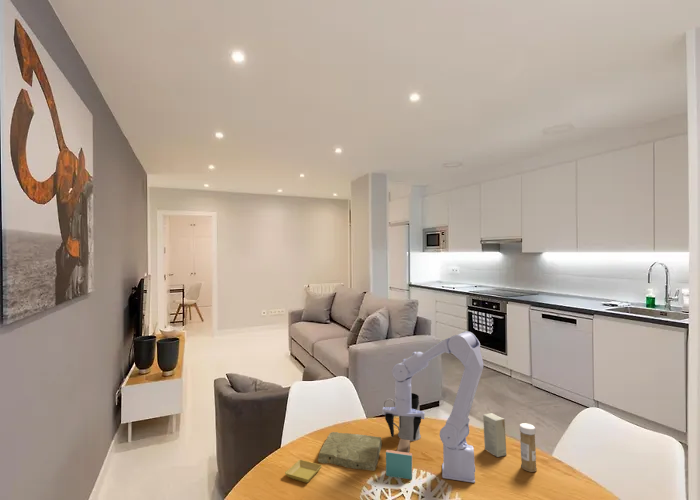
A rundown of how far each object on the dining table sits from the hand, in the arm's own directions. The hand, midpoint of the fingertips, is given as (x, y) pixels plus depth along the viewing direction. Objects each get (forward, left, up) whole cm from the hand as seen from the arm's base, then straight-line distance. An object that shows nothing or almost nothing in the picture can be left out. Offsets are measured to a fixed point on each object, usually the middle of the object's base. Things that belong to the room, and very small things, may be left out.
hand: (403, 437), depth 120 cm
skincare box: (-31, -9, -6) cm, 33 cm away
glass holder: (+2, -13, -6) cm, 15 cm away
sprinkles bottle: (-40, -1, -6) cm, 41 cm away
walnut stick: (0, +3, -6) cm, 6 cm away
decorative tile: (+18, +5, -6) cm, 20 cm away
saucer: (+29, +21, -6) cm, 36 cm away
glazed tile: (0, +14, -6) cm, 15 cm away
